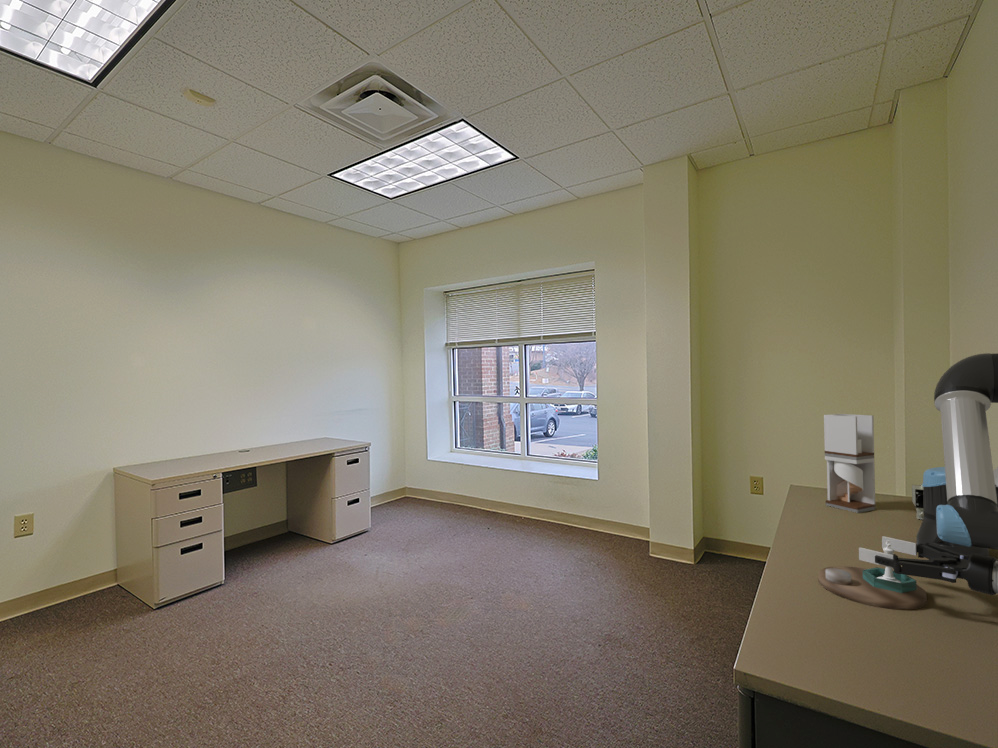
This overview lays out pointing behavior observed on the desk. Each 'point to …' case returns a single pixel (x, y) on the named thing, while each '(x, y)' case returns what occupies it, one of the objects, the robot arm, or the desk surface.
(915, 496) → the pneumatic valve
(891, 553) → the chess piece
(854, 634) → the desk surface
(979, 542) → the robot arm
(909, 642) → the desk surface
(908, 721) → the desk surface
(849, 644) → the desk surface
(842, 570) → the carrier
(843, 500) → the spiral staircase model
